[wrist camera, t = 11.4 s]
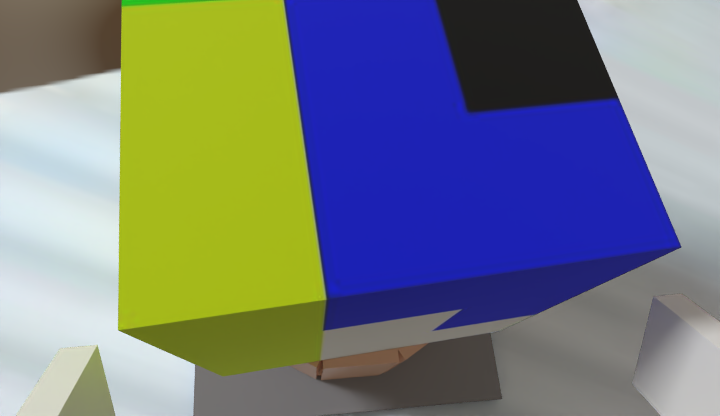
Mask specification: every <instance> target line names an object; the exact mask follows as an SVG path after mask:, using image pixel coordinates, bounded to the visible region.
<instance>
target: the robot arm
mask: <svg viewBox="0 0 720 416" xmlns="http://www.w3.org/2000/svg"><path fill="white" fill-rule="evenodd" d="M632 384H633V385H634V387H635V388H636V389H637V390H638V391H639V392H640V393H641V394H642V395H643V397H644V398H645V399H646V400H647V401H648V402H649V403H650V404H651V405H652V407H653V408H654V409H655V410H656V411H657V412H658V413H659V414H660V415H661V416H720V321H718V320H717V319H716V318H714V317H713V316H712V315H710V314H709V313H708V312H706V311H705V310H704V309H702V308H701V307H699V306H698V305H697V304H695V303H694V302H693V301H691V300H690V299H689V298H687V297H686V296H685V295H683V294H672V295H660V296H654V297H653V301H652V305H651V309H650V313H649V317H648V321H647V325H646V330H645V334H644V338H643V342H642V346H641V350H640V354H639V358H638V362H637V366H636V370H635V375H634V379H633V383H632ZM16 416H115V412H114V408H113V404H112V400H111V396H110V392H109V388H108V384H107V381H106V377H105V373H104V369H103V365H102V361H101V357H100V353H99V349H98V345H92V346H81V347H70V348H60V349H59V351H58V352H57V354H56V355H55V357H54V358H53V360H52V361H51V363H50V364H49V366H48V367H47V369H46V370H45V372H44V373H43V375H42V376H41V378H40V380H39V381H38V383H37V384H36V386H35V387H34V389H33V390H32V392H31V393H30V395H29V396H28V398H27V399H26V401H25V402H24V404H23V405H22V407H21V408H20V410H19V411H18V413H17V414H16Z"/></svg>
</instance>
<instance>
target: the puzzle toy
mask: <svg viewBox="0 0 720 416" xmlns="http://www.w3.org/2000/svg"><path fill="white" fill-rule="evenodd" d="M121 34H122V35H121V36H122V37H121V121H120V209H119V298H118V330H119V331H121V332H123V333H125V334H128V335H130V336H132V337H134V338H137V339H139V340H141V341H143V342H146V343H148V344H150V345H153V346H155V347H157V348H159V349H162V350H164V351H166V352H168V353H171V354H173V355H175V356H177V357H180V358H182V359H184V360H186V361H189V362H191V363H193V364H196V365H198V366H200V367H202V368H205V369H207V370H209V371H211V372H214V373H216V374H218V375H220V376H223V377H224V376H230V375H236V374H242V373H248V372H254V371H260V370H266V369H272V368H279V367H285V366H291V365H297V364H303V363H309V362H315V361H321V360H327V359H333V358H339V357H345V356H352V355H358V354H364V353H370V352H376V351H382V350H388V349H394V348H400V347H406V346H412V345H418V344H425V343H431V342H437V341H443V340H449V339H455V338H461V337H467V336H473V335H479V334H485V333H491V332H498V331H501V330H503V329H505V328H507V327H509V326H512V325H514V324H516V323H518V322H520V321H522V320H525V319H527V318H529V317H531V316H533V315H536V314H538V313H540V312H542V311H544V310H546V309H549V308H551V307H553V306H555V305H557V304H559V303H562V302H564V301H566V300H568V299H570V298H572V297H575V296H577V295H579V294H581V293H583V292H585V291H588V290H590V289H592V288H594V287H596V286H598V285H601V284H603V283H605V282H607V281H609V280H612V279H614V278H616V277H618V276H620V275H622V274H625V273H627V272H629V271H631V270H633V269H635V268H638V267H640V266H642V265H644V264H646V263H648V262H651V261H653V260H655V259H657V258H659V257H661V256H664V255H666V254H668V253H670V252H672V251H674V250H677V249H679V248H681V245H680V243H679V240H678V238H677V236H676V233H675V231H674V228H673V226H672V224H671V221H670V219H669V217H668V214H667V212H666V209H665V207H664V205H663V202H662V200H661V198H660V195H659V193H658V191H657V188H656V186H655V183H654V181H653V179H652V176H651V174H650V172H649V169H648V167H647V164H646V162H645V160H644V157H643V155H642V153H641V150H640V148H639V145H638V143H637V141H636V138H635V136H634V134H633V131H632V129H631V127H630V124H629V122H628V119H627V117H626V115H625V112H624V110H623V108H622V105H621V103H620V100H619V98H618V96H617V93H616V91H615V89H614V86H613V84H612V82H611V79H610V77H609V74H608V72H607V70H606V67H605V65H604V63H603V60H602V58H601V55H600V53H599V51H598V48H597V46H596V44H595V41H594V39H593V37H592V34H591V32H590V29H589V27H588V25H587V22H586V20H585V18H584V15H583V13H582V10H581V8H580V6H579V3H578V1H577V0H122V32H121Z"/></svg>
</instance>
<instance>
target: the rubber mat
mask: <svg viewBox="0 0 720 416" xmlns="http://www.w3.org/2000/svg"><path fill="white" fill-rule="evenodd" d="M494 399H502V396H501V390H500V385H499V379H498V374H497V368H496V362H495V357H494V351H493V346H492V340H491V335H490V333H485V334H479V335H473V336H467V337H461V338H455V339H449V340H443V341H437V342H431V343H428V344H427V345H425V346H424V347H423V348H421V349H420V350H419V351H417V352H416V353H414V354H413V355H412V356H410V357H409V358H408V359H406V360H405V361H403V362H402V363H400V364H398V365H397V366H395V367H394V368H392V369H390V370H389V371H387V372H385V373H382V374H380V375H377V376H365V377H353V378H342V379H330V380H321V376H317V378H316V379H314V378H312V377H310V376H308V375H306V374H304V373H302V372H300V371H298V370H296V369H295V368H293V367H291V366H285V367H279V368H272V369H266V370H260V371H254V372H248V373H242V374H236V375H230V376H224V377H223V376H220V375H218V374H216V373H214V372H211V371H209V370H207V369H205V368H202V367H200V366H198V365H196V364H195V386H194V415H193V416H323V415H333V414H344V413H355V412H365V411H376V410H387V409H398V408H408V407H419V406H430V405H440V404H451V403H462V402H473V401H483V400H494Z"/></svg>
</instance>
